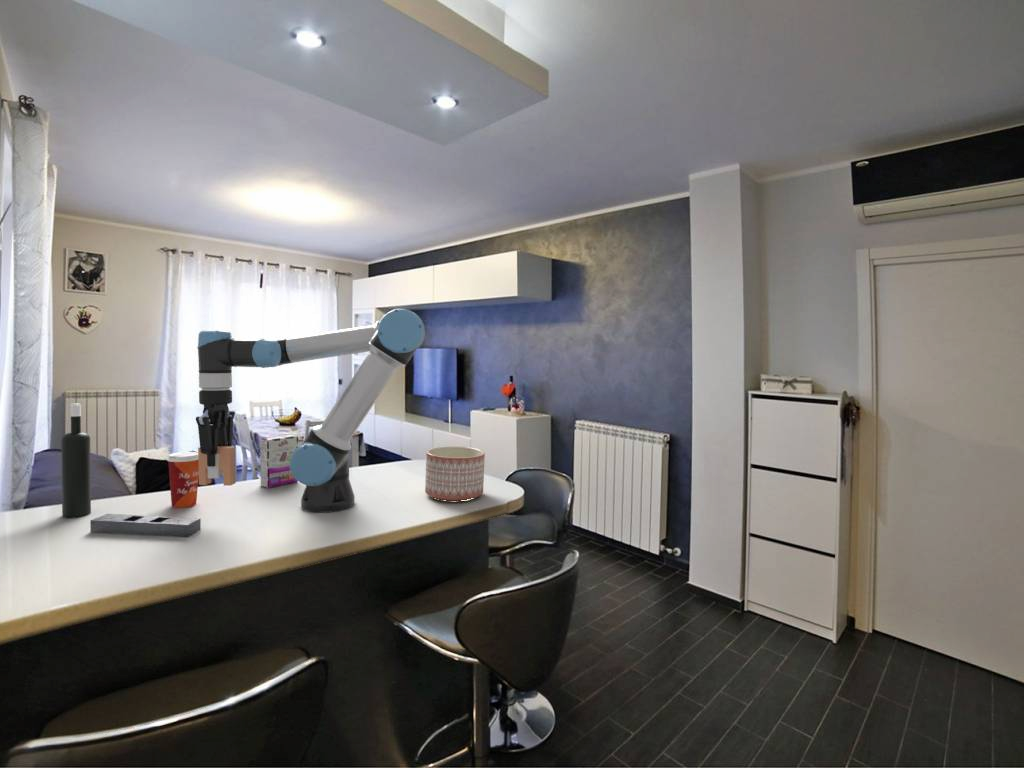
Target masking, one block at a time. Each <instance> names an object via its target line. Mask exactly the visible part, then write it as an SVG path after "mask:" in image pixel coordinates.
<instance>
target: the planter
mask: <svg viewBox="0 0 1024 768" xmlns="http://www.w3.org/2000/svg"><path fill="white" fill-rule="evenodd" d="M425 453H426V455H425V486H424V488H425V489H424V492H425V494H426V495H428V496H429V497H431V496H432V497H433V498H436V499H439V500H446V501H461V500H467V499H471V498H475V497H480V496H482V495H483V493H484V480H485V478H484V477H485V476H484V475H485V457H486V456H485V455H486V454H485V451H484V450H482V449H480V448H476V447H471V446H470V447H469V446H456V445H455V446H448V445H447V446H438V447H432V448H429V449H428V450H426V451H425ZM432 497H431V498H432ZM433 498H432V499H433ZM475 499H476V498H475ZM439 500H438V501H439Z"/></svg>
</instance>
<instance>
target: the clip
mask: <svg viewBox="0 0 1024 768" xmlns="http://www.w3.org/2000/svg"><path fill="white" fill-rule="evenodd" d="M197 452H198V460H199V475H198V486H207V485H209V484H212V478H208V466H207V454H203V453H201V451H200V446H199V447H198V448H197ZM216 454H219V469H223V476H222V477H223V481H222V482H223V486H224V487H225V486H232V485H235V484H236V446H231V447H229V446H217V453H216Z"/></svg>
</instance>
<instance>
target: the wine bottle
mask: <svg viewBox="0 0 1024 768" xmlns="http://www.w3.org/2000/svg"><path fill="white" fill-rule="evenodd" d="M69 407H70V408H69V412H70V413H69V414H70V415H69V417H70V432H68V433H65V434H64V435H63V436H62V437H61V440H60V441H61V444H60V445H61V448H60V449H61V508H62V511H61V513H62V514H61V516H63V517H62V518H64V517H65V518H64V519H74V518H73V517H76V518H80V517H81V516H82V517H85V516H88V515H90V514H91V513H92V505H91V504H92V501H91V500H92V498H91V496H92V495H91V494H92V493H91V490H92V489H91V487H92V486H91V485H92V484H91V482H92V481H91V474H92V473H91V437H90V435H89V434H88V433H87V432H83V431H82V430H81V429H82V424H81V423H82V420H81V419H82V418H81V417H82V403H81V402H79V403H78V402H75V403H74V402H73V403H69Z"/></svg>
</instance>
